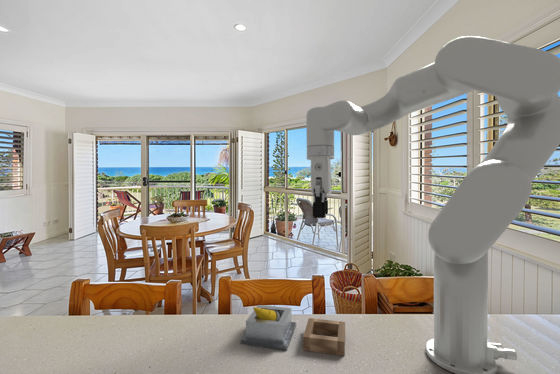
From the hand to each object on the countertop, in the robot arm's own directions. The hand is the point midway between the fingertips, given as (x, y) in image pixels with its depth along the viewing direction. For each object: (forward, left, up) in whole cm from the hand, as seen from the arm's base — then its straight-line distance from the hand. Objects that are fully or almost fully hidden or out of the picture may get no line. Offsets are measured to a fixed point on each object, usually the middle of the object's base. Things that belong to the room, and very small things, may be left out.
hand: (320, 215), depth 78 cm
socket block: (-2, +12, -28) cm, 31 cm away
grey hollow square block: (+11, +12, -28) cm, 33 cm away
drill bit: (+12, +12, -27) cm, 32 cm away
